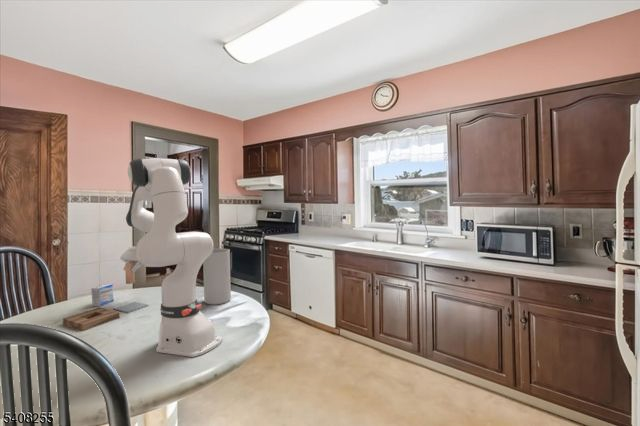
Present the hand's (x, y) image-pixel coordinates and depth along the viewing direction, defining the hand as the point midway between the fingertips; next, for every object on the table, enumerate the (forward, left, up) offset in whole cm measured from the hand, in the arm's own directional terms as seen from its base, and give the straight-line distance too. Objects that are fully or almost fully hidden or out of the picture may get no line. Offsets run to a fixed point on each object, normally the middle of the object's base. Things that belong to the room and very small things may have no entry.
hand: (128, 270), depth 145 cm
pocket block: (0, +16, -18) cm, 24 cm away
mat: (0, -1, -18) cm, 18 cm away
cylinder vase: (-30, -25, -18) cm, 43 cm away
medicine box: (+18, +1, -18) cm, 25 cm away
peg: (0, -1, -6) cm, 6 cm away
